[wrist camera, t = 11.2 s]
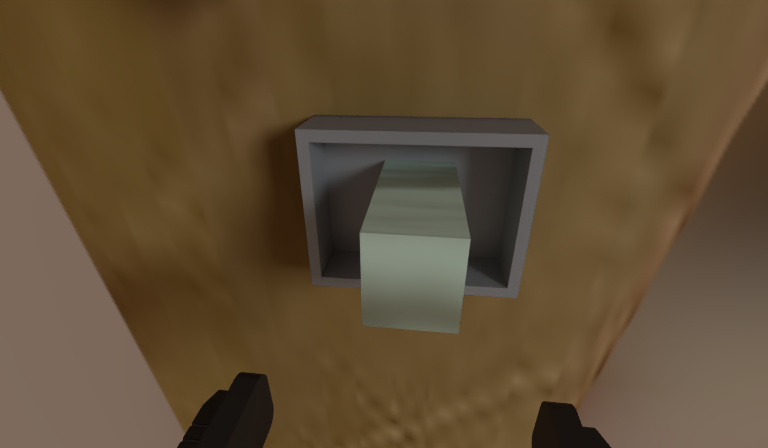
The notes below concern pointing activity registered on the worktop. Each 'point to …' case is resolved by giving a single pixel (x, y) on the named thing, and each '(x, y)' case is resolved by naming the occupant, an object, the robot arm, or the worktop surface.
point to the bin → (430, 144)
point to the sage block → (414, 248)
